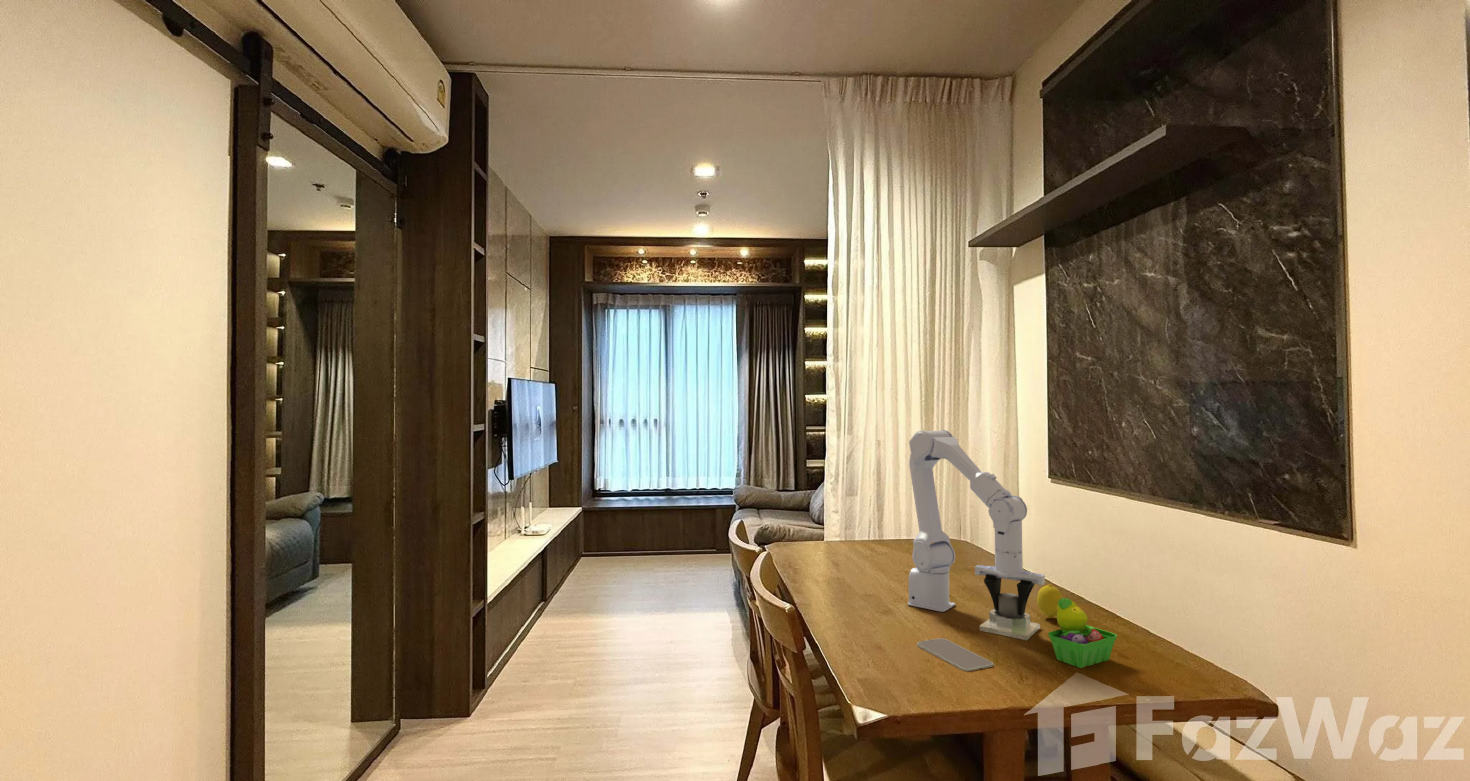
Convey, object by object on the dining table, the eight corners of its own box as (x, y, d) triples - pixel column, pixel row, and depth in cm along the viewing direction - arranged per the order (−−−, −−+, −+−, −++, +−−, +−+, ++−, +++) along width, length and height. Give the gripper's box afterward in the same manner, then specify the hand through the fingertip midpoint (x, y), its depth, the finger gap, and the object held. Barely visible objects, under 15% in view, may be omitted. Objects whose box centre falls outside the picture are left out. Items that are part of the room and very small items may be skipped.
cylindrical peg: (995, 618, 144) (995, 595, 144) (1002, 613, 148) (1002, 591, 148) (1017, 622, 141) (1016, 599, 141) (1023, 617, 145) (1023, 594, 145)
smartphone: (965, 669, 121) (914, 642, 135) (965, 674, 121) (914, 646, 135) (995, 663, 124) (943, 637, 138) (995, 668, 124) (943, 641, 137)
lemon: (1057, 614, 154) (1057, 581, 155) (1067, 622, 149) (1066, 587, 149) (1033, 614, 155) (1033, 580, 155) (1042, 621, 149) (1041, 587, 150)
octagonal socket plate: (979, 630, 144) (979, 614, 144) (994, 619, 151) (994, 604, 151) (1027, 640, 137) (1026, 623, 137) (1039, 628, 145) (1039, 612, 145)
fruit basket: (1082, 672, 121) (1081, 611, 121) (1041, 656, 128) (1039, 599, 129) (1119, 661, 126) (1118, 602, 126) (1077, 646, 134) (1076, 591, 134)
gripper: (969, 549, 146) (970, 609, 146) (1038, 558, 137) (1039, 622, 137) (980, 544, 152) (981, 602, 151) (1046, 552, 143) (1047, 614, 142)
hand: (1009, 611), depth 144 cm, fingers closed on cylindrical peg, 5 cm apart
